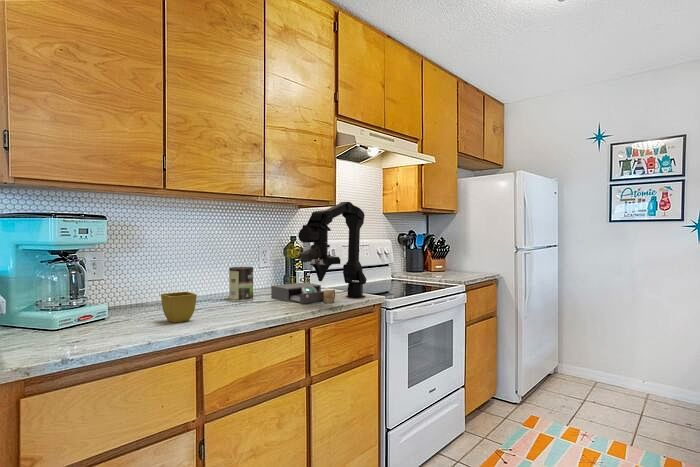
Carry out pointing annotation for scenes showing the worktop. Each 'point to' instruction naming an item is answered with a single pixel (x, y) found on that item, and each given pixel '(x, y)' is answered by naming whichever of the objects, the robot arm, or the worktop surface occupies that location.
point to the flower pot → (178, 306)
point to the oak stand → (328, 296)
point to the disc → (308, 289)
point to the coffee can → (240, 284)
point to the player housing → (289, 290)
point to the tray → (309, 297)
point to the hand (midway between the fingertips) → (320, 281)
